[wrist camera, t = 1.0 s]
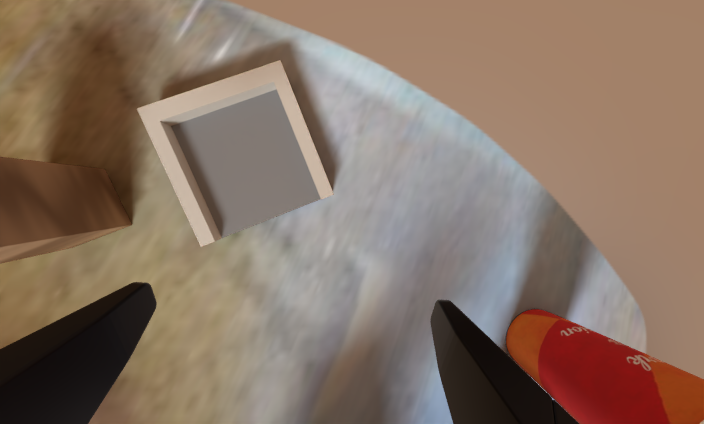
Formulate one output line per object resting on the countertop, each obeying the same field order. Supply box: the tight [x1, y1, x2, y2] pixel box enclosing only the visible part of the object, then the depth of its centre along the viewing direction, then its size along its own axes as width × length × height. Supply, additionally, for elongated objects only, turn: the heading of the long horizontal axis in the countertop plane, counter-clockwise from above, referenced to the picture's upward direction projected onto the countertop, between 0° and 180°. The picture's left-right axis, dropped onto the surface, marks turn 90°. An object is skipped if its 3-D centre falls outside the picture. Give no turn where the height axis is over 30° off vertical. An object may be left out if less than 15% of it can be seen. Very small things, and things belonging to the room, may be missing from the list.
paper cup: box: [506, 309, 704, 424], centre depth 19 cm, size 8×8×14 cm
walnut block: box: [0, 157, 132, 264], centre depth 15 cm, size 4×4×11 cm
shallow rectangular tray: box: [137, 60, 333, 247], centre depth 20 cm, size 10×10×2 cm
